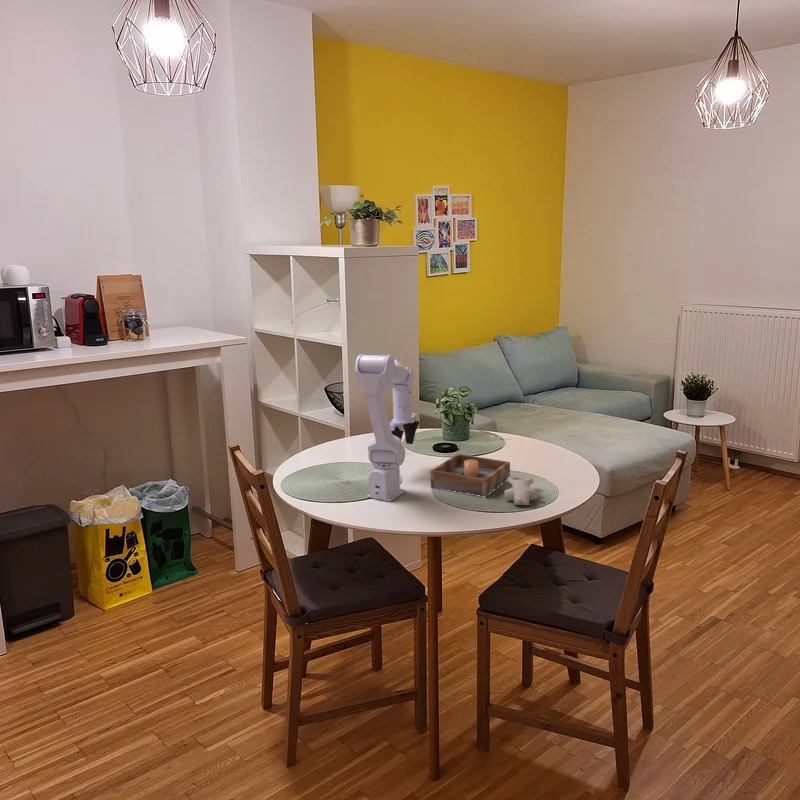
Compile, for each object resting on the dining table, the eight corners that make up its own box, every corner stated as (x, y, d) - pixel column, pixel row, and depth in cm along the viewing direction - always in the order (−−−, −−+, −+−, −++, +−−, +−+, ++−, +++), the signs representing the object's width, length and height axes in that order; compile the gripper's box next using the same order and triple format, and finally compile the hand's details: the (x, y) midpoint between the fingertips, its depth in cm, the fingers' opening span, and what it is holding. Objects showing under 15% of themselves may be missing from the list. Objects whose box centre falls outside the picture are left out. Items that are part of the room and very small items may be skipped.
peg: (474, 486, 220) (474, 464, 219) (461, 484, 222) (461, 462, 221) (480, 482, 224) (480, 460, 222) (467, 480, 226) (467, 458, 224)
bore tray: (485, 498, 211) (485, 480, 210) (430, 487, 220) (430, 470, 219) (509, 478, 226) (510, 461, 225) (457, 470, 235) (457, 453, 234)
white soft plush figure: (504, 494, 203) (503, 470, 217) (504, 510, 205) (503, 486, 219) (539, 495, 202) (536, 471, 216) (539, 511, 204) (535, 486, 218)
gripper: (401, 411, 218) (402, 455, 222) (425, 401, 230) (425, 442, 234) (381, 409, 222) (382, 451, 225) (405, 398, 234) (406, 439, 237)
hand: (403, 446), depth 230 cm, fingers open, 7 cm apart
